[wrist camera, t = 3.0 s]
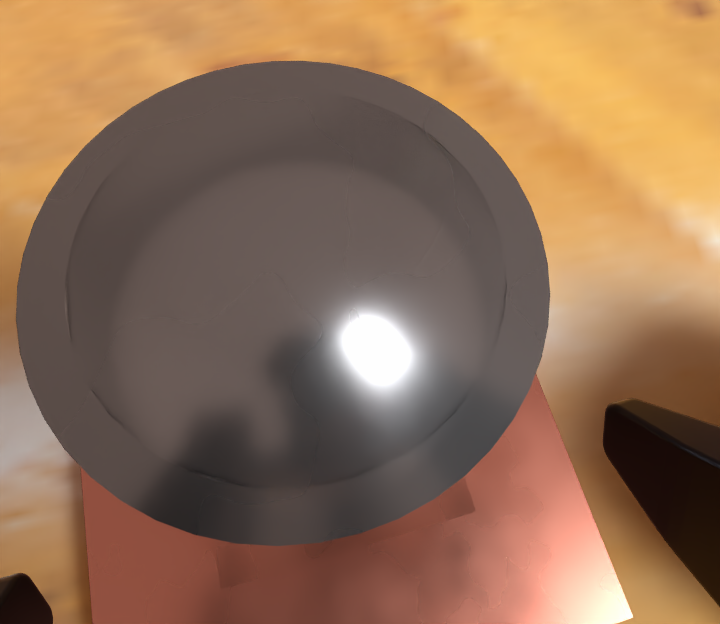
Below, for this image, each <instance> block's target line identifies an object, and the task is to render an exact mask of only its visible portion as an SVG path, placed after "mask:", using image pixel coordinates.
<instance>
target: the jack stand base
mask: <svg viewBox="0 0 720 624" xmlns="http://www.w3.org/2000/svg"><path fill="white" fill-rule="evenodd" d="M81 479H82V492H83V505H84V518H85V531H86V544H87V557H88V570H89V583H90V596H91V609H92V622H93V624H615V623H618V622H621V621H624V620H627V619H629V618H632V617H633V616H632V613H631V611H630V608H629V606H628V603H627V601H626V598H625V596H624V593H623V591H622V588H621V586H620V583H619V581H618V578H617V576H616V573H615V571H614V568H613V566H612V563H611V561H610V558H609V556H608V553H607V551H606V548H605V546H604V543H603V541H602V538H601V536H600V533H599V531H598V528H597V526H596V523H595V521H594V518H593V516H592V513H591V511H590V508H589V506H588V503H587V501H586V498H585V496H584V493H583V491H582V488H581V486H580V483H579V481H578V478H577V476H576V473H575V471H574V468H573V466H572V463H571V461H570V458H569V456H568V453H567V451H566V448H565V446H564V443H563V440H562V438H561V435H560V433H559V430H558V428H557V425H556V423H555V420H554V418H553V415H552V413H551V410H550V408H549V405H548V403H547V400H546V398H545V395H544V393H543V390H542V388H541V385H540V383H539V380H538V378H537V375H536V374H535V376H534V379H533V382H532V385H531V387H530V390H529V392H528V393H527V395H526V397H525V399H524V401H523V403H522V405H521V406H520V408H519V410H518V412H517V414H516V416H515V418H514V419H513V421H512V422H511V424H510V425H509V426H508V428H507V429H506V430H505V432H504V433H503V434H502V436H501V437H500V438H499V440H498V441H497V442H496V444H495V445H494V446H493V448H492V449H491V450H490V451H489V452H488V453H487V454H486V455H485V456H484V457H483V458H482V459H481V460H480V461H479V462H478V463H477V464H476V465H475V466H474V467H473V468H472V469H471V470H470V471H469V472H468V473H467V474H466V475H465V476H464V477H463V478H462V479H460V480H459V481H458V482H456V483H455V484H454V485H452V486H451V487H450V488H448V489H447V490H446V491H444V492H443V493H442V494H440V495H439V496H438V497H436V498H435V499H434V500H432V501H430V502H428V503H426V504H425V505H423V506H421V507H419V508H417V509H416V510H414V511H412V512H410V513H408V514H407V515H405V516H403V517H401V518H399V519H397V520H394V521H392V522H389V523H387V524H384V525H381V526H379V527H376V528H373V529H371V530H368V531H366V532H363V533H360V534H356V535H352V536H347V537H343V538H338V539H334V540H329V541H325V542H321V543H310V544H298V545H286V546H267V545H251V544H235V543H231V542H226V541H221V540H217V539H212V538H207V537H202V536H198V535H194V534H191V533H188V532H186V531H183V530H180V529H178V528H175V527H172V526H170V525H167V524H164V523H162V522H159V521H156V520H154V519H153V518H151V517H149V516H147V515H145V514H144V513H142V512H140V511H138V510H136V509H135V508H133V507H131V506H129V505H128V504H126V503H124V502H122V501H121V500H119V499H118V498H117V497H115V496H114V495H113V494H112V493H110V492H109V491H108V490H107V489H105V488H104V487H103V486H101V485H100V484H99V483H98V482H96V481H95V480H94V479H92V478H91V477H90V476H89V475H88V474H87V473H86V472H85V471H84V469H83V468H82V467H81Z"/></svg>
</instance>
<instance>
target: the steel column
mask: <svg viewBox="0 0 720 624" xmlns="http://www.w3.org/2000/svg"><path fill="white" fill-rule="evenodd" d="M549 302H550V288H549V275H548V263H547V258H546V254H545V250H544V245H543V241H542V236H541V232H540V230H539V227H538V224H537V222H536V219H535V216H534V214H533V211H532V208H531V206H530V204H529V202H528V200H527V198H526V196H525V194H524V192H523V190H522V189H521V187H520V185H519V183H518V181H517V179H516V178H515V177H514V175H513V174H512V172H511V171H510V169H509V168H508V167H507V165H506V164H505V162H504V161H503V160H502V158H501V157H500V156H499V154H498V153H497V152H496V151H495V150H494V149H493V148H492V147H491V146H490V145H489V143H488V142H487V141H486V140H485V139H484V138H483V137H482V136H481V135H480V134H479V133H478V132H477V131H476V130H474V129H473V128H472V127H471V126H470V125H469V124H468V123H466V122H465V121H464V120H463V119H462V118H461V117H459V116H458V115H457V114H455V113H454V112H452V111H451V110H449V109H448V108H446V107H445V106H444V105H442V104H441V103H439V102H438V101H436V100H434V99H432V98H431V97H429V96H427V95H425V94H423V93H421V92H419V91H418V90H416V89H414V88H412V87H410V86H407V85H405V84H402V83H400V82H397V81H395V80H393V79H390V78H388V77H385V76H382V75H378V74H375V73H372V72H368V71H365V70H361V69H358V68H352V67H347V66H342V65H336V64H331V63H320V62H308V61H271V62H262V63H253V64H245V65H239V66H235V67H230V68H225V69H221V70H216V71H213V72H209V73H206V74H203V75H200V76H197V77H194V78H191V79H188V80H185V81H183V82H181V83H178V84H176V85H174V86H172V87H169V88H167V89H165V90H162V91H160V92H158V93H156V94H155V95H153V96H151V97H149V98H148V99H146V100H144V101H142V102H141V103H139V104H137V105H135V106H134V107H132V108H131V109H129V110H128V111H127V112H125V113H124V114H123V115H121V116H120V117H118V118H117V119H116V120H114V121H113V122H112V123H110V124H109V125H108V126H106V127H105V128H104V129H103V130H102V131H101V132H100V133H99V134H98V135H97V136H95V137H94V138H93V139H92V140H91V141H90V142H89V143H88V144H87V145H86V146H85V147H84V148H83V149H82V150H81V151H80V153H79V154H78V155H77V156H76V157H75V158H74V160H73V161H72V162H71V163H70V164H69V165H68V166H67V168H66V169H65V170H64V172H63V173H62V175H61V176H60V178H59V179H58V181H57V182H56V184H55V185H54V187H53V188H52V190H51V191H50V193H49V194H48V196H47V198H46V200H45V202H44V204H43V206H42V208H41V210H40V212H39V214H38V216H37V218H36V220H35V222H34V224H33V227H32V230H31V233H30V236H29V239H28V242H27V245H26V248H25V251H24V253H23V258H22V264H21V269H20V274H19V280H18V285H17V308H16V323H17V331H18V340H19V349H20V355H21V358H22V362H23V366H24V369H25V373H26V376H27V380H28V383H29V387H30V389H31V391H32V393H33V395H34V398H35V400H36V402H37V404H38V406H39V409H40V411H41V413H42V415H43V417H44V419H45V421H46V422H47V424H48V425H49V427H50V428H51V430H52V431H53V433H54V434H55V436H56V437H57V439H58V440H59V442H60V443H61V445H62V446H63V448H64V449H65V450H66V451H67V452H68V453H69V454H70V456H71V457H72V458H73V459H74V460H75V461H76V462H77V463H78V464H79V465H80V466H81V467H82V468H83V469H84V471H85V472H86V473H87V474H88V475H89V476H90V477H91V478H92V479H94V480H95V481H96V482H98V483H99V484H100V485H101V486H103V487H104V488H105V489H107V490H108V491H109V492H110V493H112V494H113V495H114V496H115V497H117V498H118V499H119V500H121V501H122V502H124V503H126V504H128V505H129V506H131V507H133V508H135V509H136V510H138V511H140V512H142V513H144V514H145V515H147V516H149V517H151V518H153V519H154V520H156V521H159V522H162V523H164V524H167V525H170V526H172V527H175V528H178V529H180V530H183V531H186V532H188V533H191V534H194V535H198V536H202V537H207V538H212V539H217V540H221V541H226V542H231V543H235V544H251V545H267V546H286V545H298V544H310V543H321V542H325V541H329V540H334V539H338V538H343V537H347V536H352V535H356V534H360V533H363V532H366V531H368V530H371V529H373V528H376V527H379V526H381V525H384V524H387V523H389V522H392V521H394V520H397V519H399V518H401V517H403V516H405V515H407V514H408V513H410V512H412V511H414V510H416V509H417V508H419V507H421V506H423V505H425V504H426V503H428V502H430V501H432V500H434V499H435V498H436V497H438V496H439V495H440V494H442V493H443V492H444V491H446V490H447V489H448V488H450V487H451V486H452V485H454V484H455V483H456V482H458V481H459V480H460V479H462V478H463V477H464V476H465V475H466V474H467V473H468V472H469V471H470V470H471V469H472V468H473V467H474V466H475V465H476V464H477V463H478V462H479V461H480V460H481V459H482V458H483V457H484V456H485V455H486V454H487V453H488V452H489V451H490V450H491V449H492V448H493V446H494V445H495V444H496V442H497V441H498V440H499V438H500V437H501V436H502V434H503V433H504V432H505V430H506V429H507V428H508V426H509V425H510V424H511V422H512V421H513V419H514V418H515V416H516V414H517V412H518V410H519V408H520V406H521V405H522V403H523V401H524V399H525V397H526V395H527V393H528V392H529V390H530V387H531V385H532V382H533V379H534V376H535V374H536V371H537V368H538V365H539V363H540V360H541V357H542V352H543V347H544V342H545V338H546V333H547V328H548V318H549Z"/></svg>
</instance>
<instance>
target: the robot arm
mask: <svg viewBox="0 0 720 624" xmlns="http://www.w3.org/2000/svg"><path fill="white" fill-rule="evenodd" d="M603 447H604V450H605V453H606V455H607V457H608V459H609V460H610V462H611V463H612V465H613V466H614V467H615V469H616V470H617V472H618V473H619V475H620V476H621V478H622V479H623V481H624V482H625V484H626V485H627V486H628V488H629V489H630V491H631V492H632V494H633V495H634V497H635V498H636V500H637V501H638V502H639V504H640V505H641V507H642V508H643V510H644V511H645V513H646V514H647V516H648V517H649V519H650V520H651V521H652V523H653V524H654V526H655V527H656V529H657V530H658V531H659V533H660V534H661V536H662V537H663V538H664V540H665V541H666V542H667V543H668V545H669V546H670V547H671V548H672V550H673V551H674V552H675V554H676V555H677V556H678V557H679V558H680V560H681V561H682V562H683V563H684V564H685V566H686V567H687V568H688V569H689V570H690V572H691V573H692V574H693V575H694V576H695V578H696V579H697V580H698V581H699V583H700V584H701V585H702V586H703V587H704V589H705V590H706V591H707V592H708V593H709V595H710V596H711V597H712V598H713V599H714V601H715V602H716V603H717V604H718V605H719V607H720V427H719V426H716V425H713V424H710V423H707V422H704V421H701V420H698V419H695V418H692V417H689V416H686V415H683V414H680V413H677V412H674V411H671V410H668V409H665V408H662V407H659V406H656V405H653V404H650V403H647V402H644V401H641V400H638V399H634V398H628V399H624V400H621V401H617V402H614V403H611V404H609V405H608V406H607V408H606V411H605V421H604V433H603ZM0 624H53V616H52V611H51V608H50V606H49V605H48V603H47V602H46V600H45V599H44V597H43V596H42V594H41V593H40V592H39V590H38V589H37V587H36V586H35V584H34V583H33V581H32V580H31V578H30V577H29V576H28V575H26V574H23V573H18V574H14V575H10V576H7V577H3V578H0Z"/></svg>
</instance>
